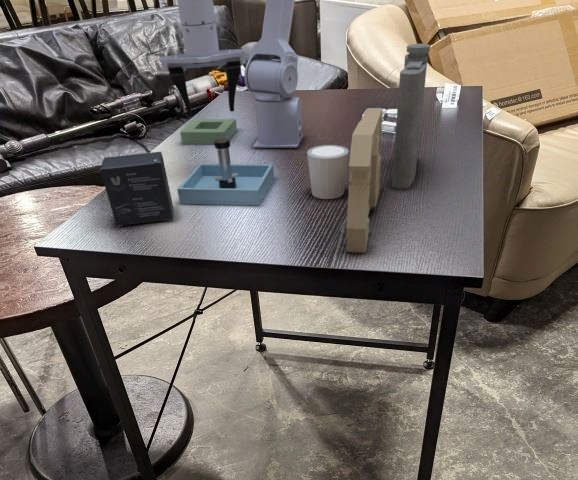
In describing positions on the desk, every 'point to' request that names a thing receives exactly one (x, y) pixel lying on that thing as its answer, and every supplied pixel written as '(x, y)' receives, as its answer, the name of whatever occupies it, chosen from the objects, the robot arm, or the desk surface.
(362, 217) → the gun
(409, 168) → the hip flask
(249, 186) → the tray
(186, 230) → the desk surface
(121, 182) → the box
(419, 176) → the desk surface
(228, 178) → the silver black capped cylinder
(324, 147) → the white cup
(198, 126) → the green square holder
